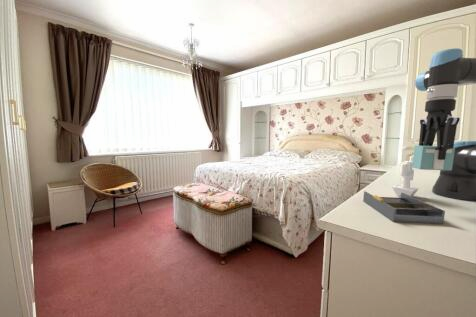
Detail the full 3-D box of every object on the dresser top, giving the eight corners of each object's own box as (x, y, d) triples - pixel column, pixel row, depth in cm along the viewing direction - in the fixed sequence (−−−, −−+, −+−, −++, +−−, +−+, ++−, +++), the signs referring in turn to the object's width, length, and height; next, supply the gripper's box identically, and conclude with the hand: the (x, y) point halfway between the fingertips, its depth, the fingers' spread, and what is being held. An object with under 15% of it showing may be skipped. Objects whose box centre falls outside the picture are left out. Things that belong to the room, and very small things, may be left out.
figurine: (419, 196, 91) (423, 161, 89) (411, 200, 85) (415, 163, 83) (398, 192, 97) (402, 159, 95) (390, 195, 91) (393, 160, 89)
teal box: (441, 168, 77) (445, 146, 76) (452, 170, 73) (455, 147, 72) (412, 167, 78) (414, 145, 77) (420, 169, 74) (423, 146, 73)
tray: (401, 202, 82) (402, 191, 82) (443, 224, 64) (445, 209, 63) (362, 201, 84) (363, 189, 83) (392, 221, 65) (393, 207, 64)
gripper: (410, 102, 81) (404, 163, 84) (450, 95, 64) (440, 172, 67) (432, 102, 80) (425, 164, 83) (478, 95, 63) (467, 172, 66)
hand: (432, 167), depth 75 cm, fingers closed on teal box, 4 cm apart
